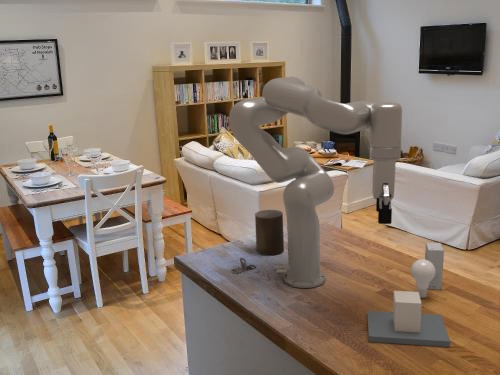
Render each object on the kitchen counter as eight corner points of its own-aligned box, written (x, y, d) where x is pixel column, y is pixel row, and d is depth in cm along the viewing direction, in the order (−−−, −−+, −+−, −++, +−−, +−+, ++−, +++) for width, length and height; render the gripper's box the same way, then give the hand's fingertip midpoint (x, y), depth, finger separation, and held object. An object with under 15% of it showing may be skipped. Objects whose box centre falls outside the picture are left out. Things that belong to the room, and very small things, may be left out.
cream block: (394, 331, 118) (395, 302, 116) (392, 318, 124) (393, 290, 122) (420, 332, 117) (421, 303, 115) (417, 320, 122) (418, 292, 120)
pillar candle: (284, 255, 169) (283, 213, 166) (256, 256, 170) (254, 214, 166) (283, 245, 179) (282, 205, 175) (256, 246, 179) (254, 206, 175)
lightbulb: (431, 304, 132) (433, 266, 129) (407, 299, 136) (408, 262, 133) (436, 294, 137) (438, 257, 135) (413, 290, 141) (414, 254, 138)
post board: (368, 341, 117) (369, 311, 115) (367, 316, 128) (367, 287, 126) (449, 347, 113) (451, 315, 111) (440, 320, 125) (442, 291, 123)
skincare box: (442, 290, 140) (444, 250, 137) (426, 289, 141) (428, 250, 138) (438, 280, 146) (440, 242, 143) (423, 279, 147) (425, 242, 144)
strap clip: (234, 276, 156) (233, 263, 155) (229, 272, 158) (229, 260, 157) (257, 269, 160) (256, 256, 159) (252, 265, 163) (251, 253, 162)
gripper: (368, 146, 133) (367, 207, 138) (371, 159, 117) (369, 228, 121) (397, 146, 132) (395, 207, 136) (404, 159, 115) (401, 229, 120)
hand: (383, 217), depth 129 cm, fingers open, 9 cm apart
